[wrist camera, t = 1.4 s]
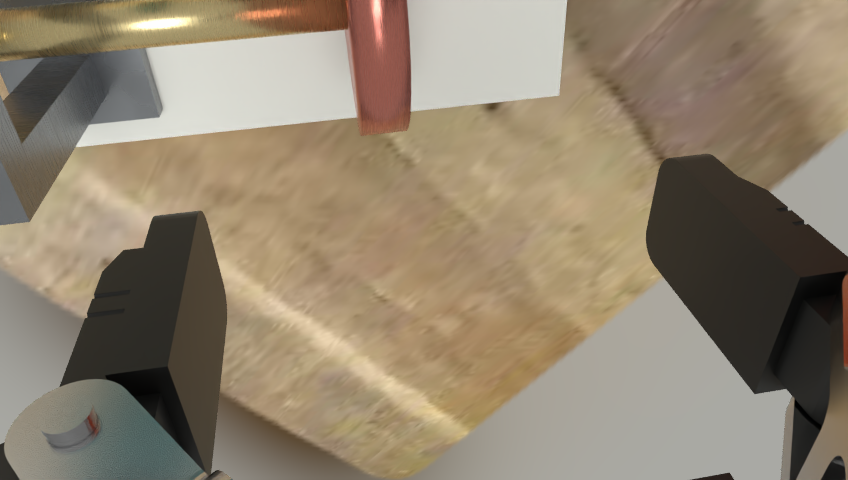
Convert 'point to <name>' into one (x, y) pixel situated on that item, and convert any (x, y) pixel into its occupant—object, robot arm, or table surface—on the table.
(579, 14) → the table surface
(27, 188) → the grey square frame
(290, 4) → the copper disc with handle
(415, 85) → the base board
